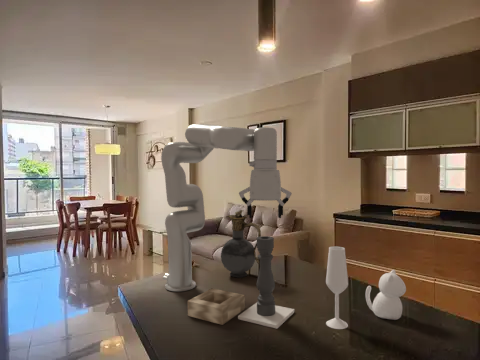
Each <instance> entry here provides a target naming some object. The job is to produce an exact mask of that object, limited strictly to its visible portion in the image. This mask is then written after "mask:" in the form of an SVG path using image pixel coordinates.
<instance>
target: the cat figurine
mask: <svg viewBox="0 0 480 360" xmlns="http://www.w3.org/2000/svg"><path fill="white" fill-rule="evenodd" d="M378 289H379V292H378V293H377V294H376V295H375V297H374V299H373V302H372V301H371V291H372V286H371V285H368V286H367V287H366V289H365V295H364V296H365V301H366V304H367V306H368V308H369V310H371V311H372V312H373V314H374V315H375V316H376V317H378V318H381V319H387V320H394V321H396V320H399V319H400V318H402V315H403V302H402V300H401V298H400V297H402V296H403V295H404V294H405V293H406V292H407V287H406V284H405V282H404V280H403V279H402V278H401V277H400V276H399V275H397V272H396V270H395V269H392V270H391V271H390V272H385V273H384V274H382V275H381V276H380V278H379V281H378Z"/></svg>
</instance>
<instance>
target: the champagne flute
mask: <svg viewBox="0 0 480 360" xmlns="http://www.w3.org/2000/svg"><path fill="white" fill-rule="evenodd" d="M327 254H328V255H327V256H328V257H327V264H326V265H327V268H326V277H325V284H326V286H327V287H328V289H329V290H330V291H331V292H332V293H333V294H334V318H331V319H329V320H327V321H326V322H325V325H326V326H327V327H329V328H331V329H335V330H343V329H347V328H348V327H349V325H348V323H347V322H346V321H345V320H343V319H341V318H340V294H342V293H343V292H344V291H345V290H346V289H348V286H349V278H348V269H347V268H348V267H347V257H346V248H345V247H342V246H337V245H335V246H329V247H328V253H327Z"/></svg>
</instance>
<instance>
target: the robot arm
mask: <svg viewBox="0 0 480 360" xmlns="http://www.w3.org/2000/svg"><path fill="white" fill-rule="evenodd" d="M184 135H185V136H184V137H185V140H186V141H187V142H185V141H174V142H173V141H172V142H168V143H167V144H166V145H165V146H164V147H163V148H162V151H161V157H160V159H161V161H160V162H161V165H162V169H163V173H164V179H165V193H166V201H167V204H168V206H169V207H170V208H175V209H178V208H187V209H184V210H175V211H173V212H171V213H169V214H168V215H166V217H165V220H164V221H165V222H164V225H165V226H164V227H165V231H166V235H167V250H168V253H167V255H168V257H167V258H168V273H167V272H166V273H165V274H164V276H162V280H165V281H166V282H165V284H164V288H165V289H166V290H168V291H170V292H186V291H191V290H193V289H194V288H196V285H197V284H196V281H195V280H193V275H192V274H193V273H192V271H193V268H192V266H193V265H192V263H193V261H192V259H193V258H192V243H191V239H190V238H189V236H188V234H189V233H193V232H198V231H200V230H202V229H203V228H204V226H205V222H206V215H205V214H206V212H205V204H204V203H205V202H204V201H205V200H204V194H203V192H202V189H201V187H200V186H198V185H197V184H193V183H188V182H187V176H186V172H185V170H184V168H183V167H182V165H181V164H198V163H201V162H202V161H204V160H205V159H206V158H207V156H209V154H210V153H211V152H212V151H213V150H214V149H220V150H230V151H240V152H241V151H244V152H253V161H249V163H248V164H249V165H248V166H249V167H253V169H251V170H250V171H251V172H250V180H249V187H246V188H245V189H243V190H241V191H239V192H238V196H239V197H240V199H241V201H242V202H243V203H244V204H245V205H246V208H247V209H246V211H247V214H246V215H248V217H249V219H252V217H253V216H252V213H253V212H252V203H253V202H254V201H277V203H278V206H277V218H279V219H281V218H282V216H284V206H285V204H286V203H288V201H289V199H290V197H291V196H292V192H291V191H289V190H287V189H286V188H283V187H281V186H282V184H281V183H282V181H281V175H280V170H279V169H277V168H278V165H277V162H278V159H277V158H278V156H277V155H278V153H277V151H278V146H277V145H278V137H277V136H278V132H277V130H276V129H275V128H274V127H266V126H265V127H263V126H262V127H257V128H256V129H253V128H245V127H235V126H222V125H219V124H206V123H205V124H204V123H195V124H190V125H189V126H188V127H187V128H186V129H185V133H184ZM247 193H249V199H247V198H246V197H245V194H247ZM282 193H283V194H285V197H284V198H282ZM281 198H282V199H281Z"/></svg>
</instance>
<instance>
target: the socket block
mask: <svg viewBox="0 0 480 360" xmlns="http://www.w3.org/2000/svg"><path fill="white" fill-rule="evenodd" d="M245 301H246V295H245V294H241V293H237V292H231V291H227V290H221V289H218V288H210V289H208V290H206V291H203V292H202V293H200V294H197V296H194V297H192V298H191V299H188V300H187V316H189V317H191V318H194V319H195V318H196V319H199V320H203V321H206V322H211V323H214V324H219V325H222V326H223V325H225V324H226V323H228V322H229V321H231V320H232V319H233V318H235V317H236V316H238V315H240V314H241V313H243V312H244V311H245V310H246V304H245V303H246V302H245Z"/></svg>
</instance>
